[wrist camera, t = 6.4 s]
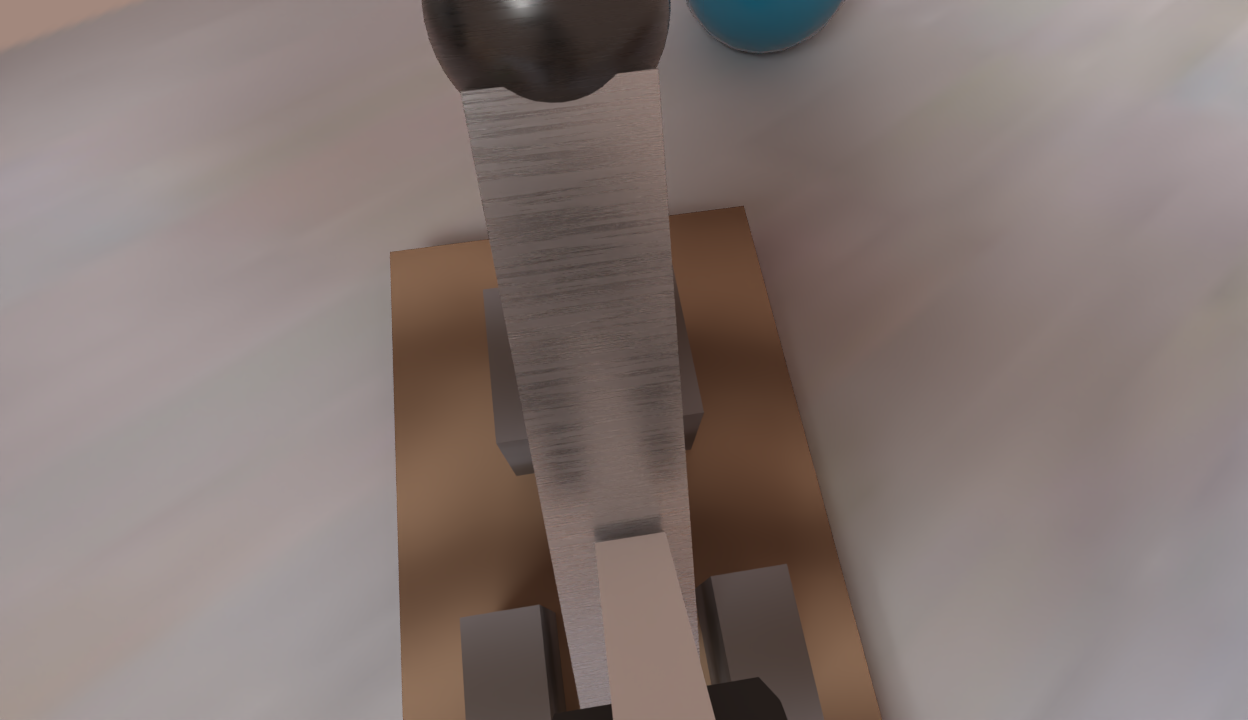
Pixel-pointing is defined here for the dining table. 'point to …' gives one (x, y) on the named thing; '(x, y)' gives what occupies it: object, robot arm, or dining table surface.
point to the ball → (763, 21)
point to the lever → (581, 274)
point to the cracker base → (512, 515)
